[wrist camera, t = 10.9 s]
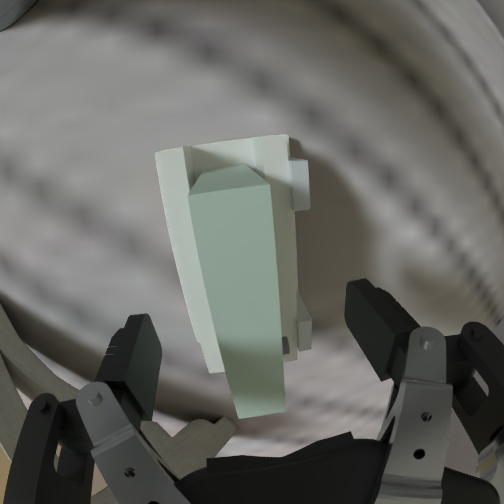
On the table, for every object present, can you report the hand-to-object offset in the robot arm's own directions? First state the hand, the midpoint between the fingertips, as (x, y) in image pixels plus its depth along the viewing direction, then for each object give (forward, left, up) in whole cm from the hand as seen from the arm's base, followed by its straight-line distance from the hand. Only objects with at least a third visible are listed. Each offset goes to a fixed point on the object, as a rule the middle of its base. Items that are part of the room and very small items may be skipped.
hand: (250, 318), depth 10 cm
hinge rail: (0, 0, -9) cm, 9 cm away
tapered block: (0, 0, -8) cm, 8 cm away
